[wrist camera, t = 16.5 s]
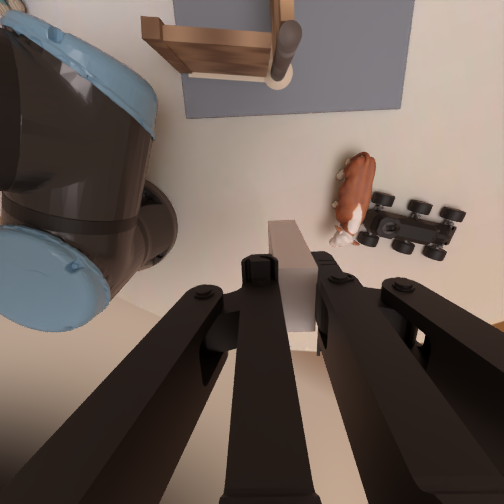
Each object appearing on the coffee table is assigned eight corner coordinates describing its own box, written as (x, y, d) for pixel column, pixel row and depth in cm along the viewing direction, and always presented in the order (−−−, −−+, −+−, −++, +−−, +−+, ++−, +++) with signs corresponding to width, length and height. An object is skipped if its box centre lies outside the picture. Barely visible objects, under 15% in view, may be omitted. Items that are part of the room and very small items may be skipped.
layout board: (187, 118, 41) (186, 118, 41) (163, -91, 33) (162, -94, 33) (398, 108, 40) (400, 108, 40) (426, -108, 32) (429, -112, 32)
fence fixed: (285, 65, 39) (303, 20, 24) (284, 82, 39) (300, 48, 25) (180, 58, 38) (136, 8, 24) (181, 75, 39) (138, 37, 25)
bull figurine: (317, 233, 47) (328, 251, 40) (342, 148, 42) (361, 150, 35) (342, 238, 47) (359, 257, 40) (370, 154, 43) (395, 157, 35)
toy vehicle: (369, 189, 45) (392, 199, 37) (460, 209, 46) (502, 224, 38) (352, 237, 48) (369, 257, 40) (437, 256, 49) (472, 279, 40)
